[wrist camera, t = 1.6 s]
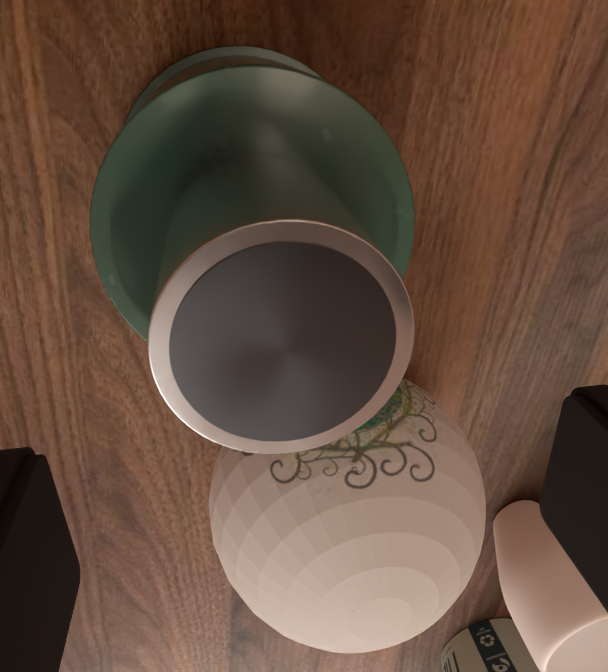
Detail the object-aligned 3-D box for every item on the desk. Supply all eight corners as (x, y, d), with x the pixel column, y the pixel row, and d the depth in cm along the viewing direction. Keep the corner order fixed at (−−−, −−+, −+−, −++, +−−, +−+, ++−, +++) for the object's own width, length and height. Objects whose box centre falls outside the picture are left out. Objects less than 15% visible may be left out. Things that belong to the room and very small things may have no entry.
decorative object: (449, 320, 35) (590, 488, 22) (406, 496, 42) (494, 702, 29) (210, 315, 33) (212, 502, 20) (206, 503, 40) (205, 734, 27)
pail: (94, 48, 25) (35, 56, 17) (366, 41, 27) (441, 44, 18) (140, 301, 32) (114, 403, 23) (359, 283, 33) (413, 372, 24)
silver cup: (155, 156, 19) (123, 230, 12) (348, 146, 19) (426, 210, 12) (181, 330, 22) (167, 469, 15) (345, 315, 23) (406, 441, 16)
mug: (475, 566, 48) (546, 706, 38) (461, 500, 43) (537, 639, 33) (609, 521, 47) (715, 650, 37) (607, 451, 43) (727, 575, 33)
